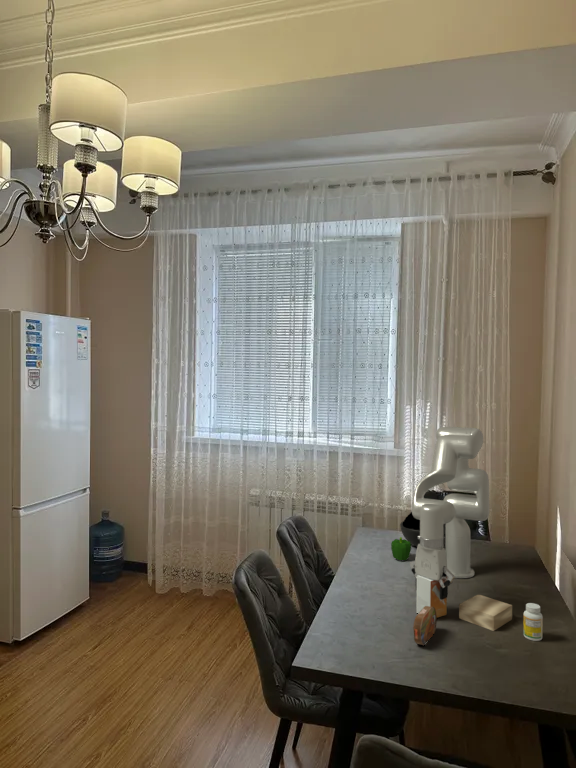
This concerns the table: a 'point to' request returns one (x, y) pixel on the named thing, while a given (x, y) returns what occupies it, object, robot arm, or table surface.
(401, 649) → the table surface
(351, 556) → the table surface
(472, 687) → the table surface
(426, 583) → the small box
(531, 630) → the supplement bottle
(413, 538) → the coal bowl
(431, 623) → the tin
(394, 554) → the bell pepper
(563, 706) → the table surface
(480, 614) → the birch block
